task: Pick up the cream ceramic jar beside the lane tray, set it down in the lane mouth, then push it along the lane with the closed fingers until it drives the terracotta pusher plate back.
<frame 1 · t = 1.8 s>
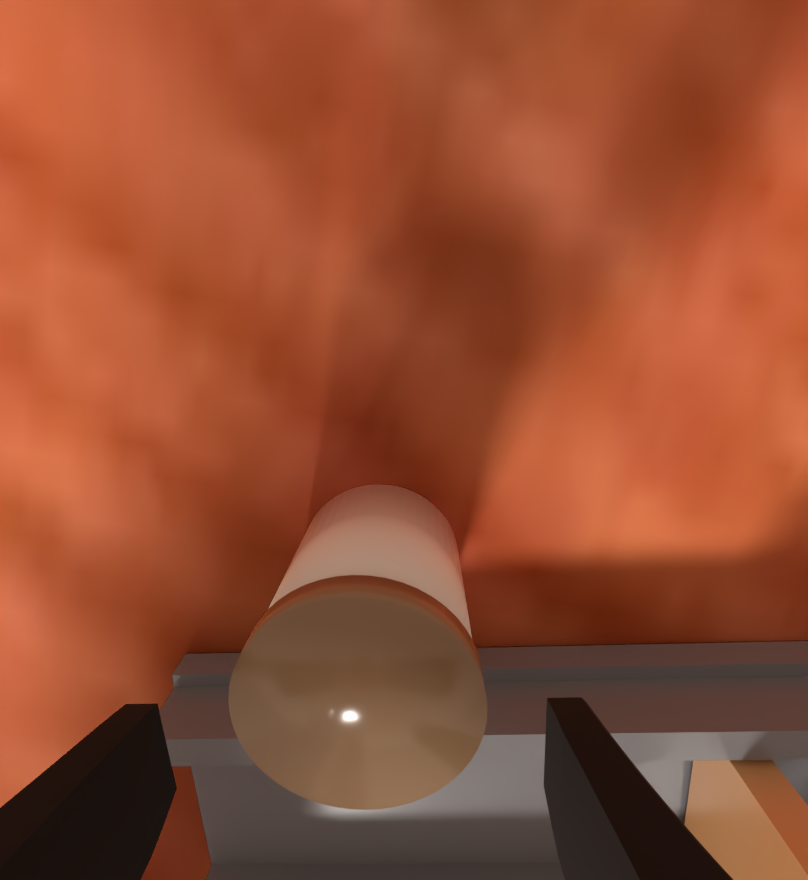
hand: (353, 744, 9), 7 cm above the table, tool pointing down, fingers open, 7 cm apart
jar: (380, 556, 16), on the table
lane tray: (531, 762, 18), on the table
pusher plate: (756, 877, 14), point 4 cm above the table, slide at 0.0 cm
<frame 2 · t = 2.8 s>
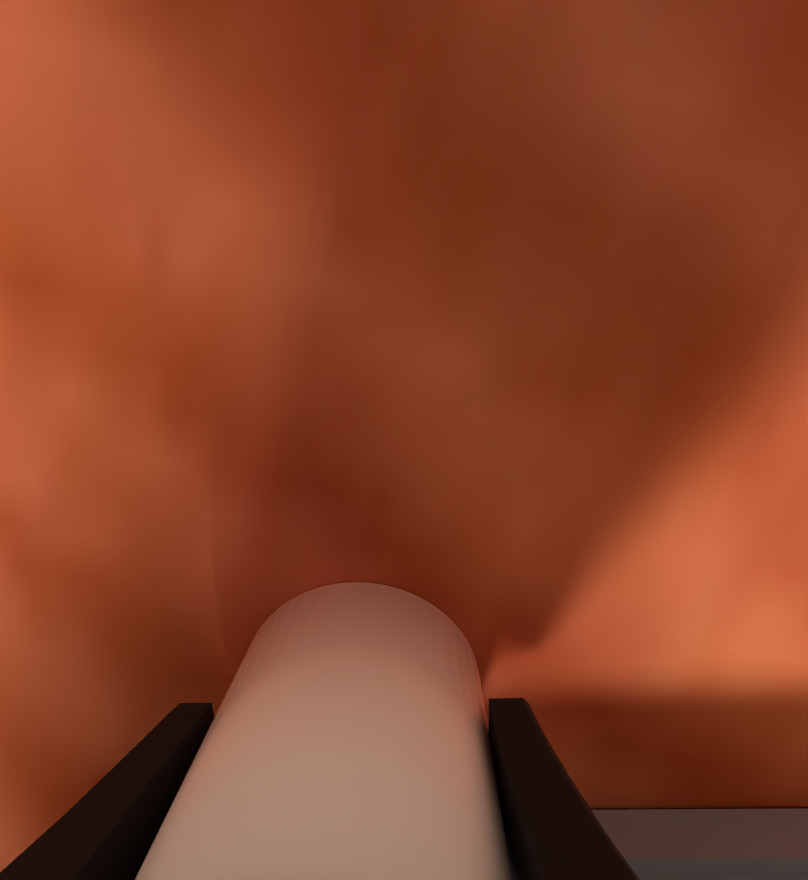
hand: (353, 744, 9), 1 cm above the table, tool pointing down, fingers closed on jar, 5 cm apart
jar: (361, 685, 10), on the table, touching gripper
when the fingers open (4 cm above the table, at t = 6.0 s): jar drops 1 cm, resting on lane tray.
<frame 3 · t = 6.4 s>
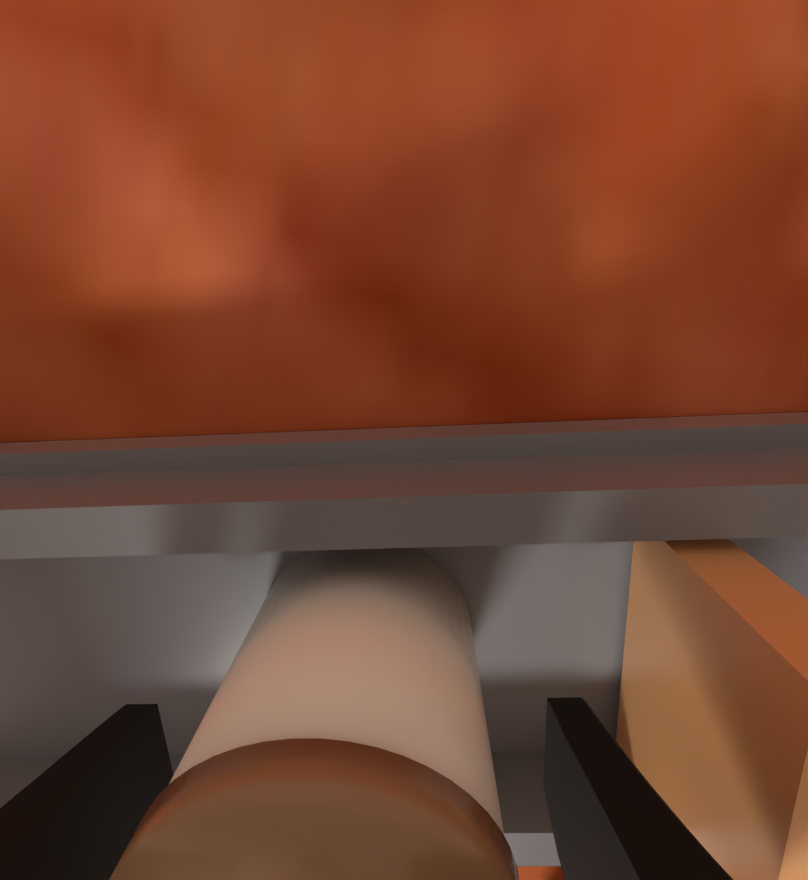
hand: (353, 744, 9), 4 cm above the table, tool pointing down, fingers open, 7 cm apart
jar: (366, 630, 12), point 1 cm above the table, touching lane tray
lane tray: (410, 613, 13), on the table
pusher plate: (713, 730, 9), point 4 cm above the table, slide at 0.0 cm
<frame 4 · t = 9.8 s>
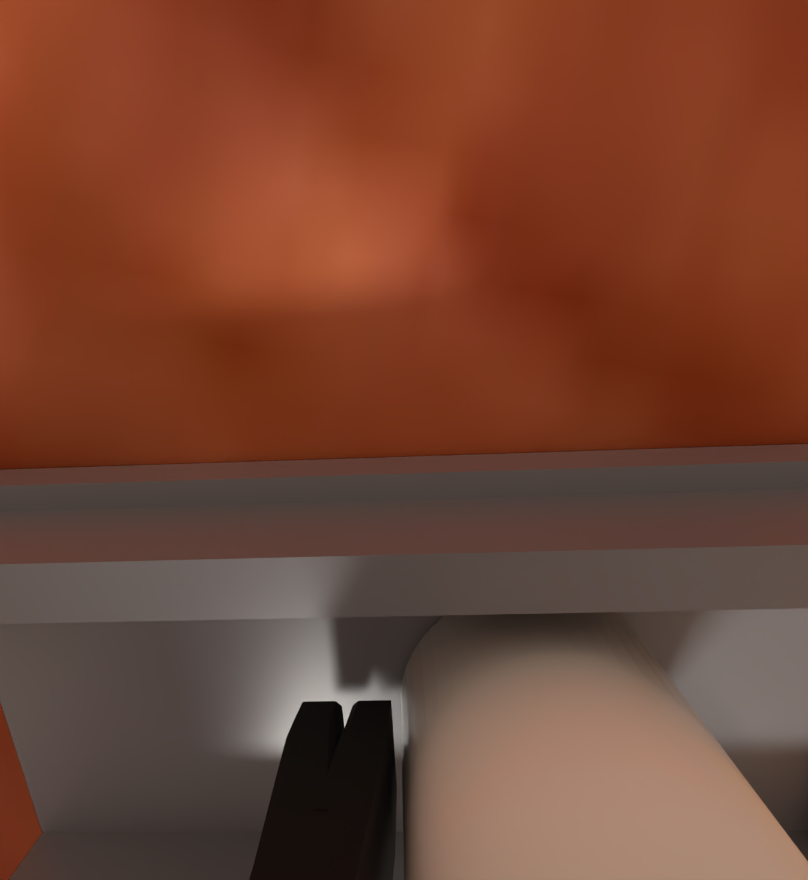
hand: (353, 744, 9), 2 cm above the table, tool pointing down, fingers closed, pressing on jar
jar: (525, 695, 10), point 1 cm above the table, touching gripper, lane tray
lane tray: (561, 666, 11), on the table
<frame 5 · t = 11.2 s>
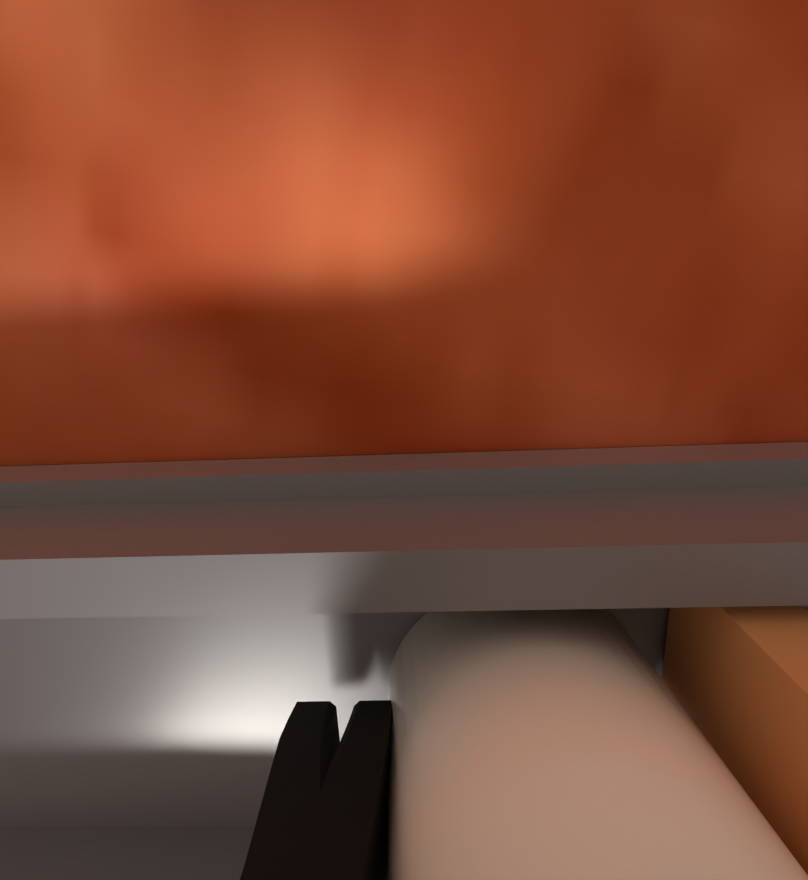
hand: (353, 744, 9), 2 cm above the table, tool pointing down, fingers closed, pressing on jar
jar: (512, 689, 10), point 1 cm above the table, touching gripper, lane tray, pusher plate
lane tray: (276, 667, 11), on the table
pusher plate: (779, 840, 7), point 4 cm above the table, slide at 3.0 cm, touching jar
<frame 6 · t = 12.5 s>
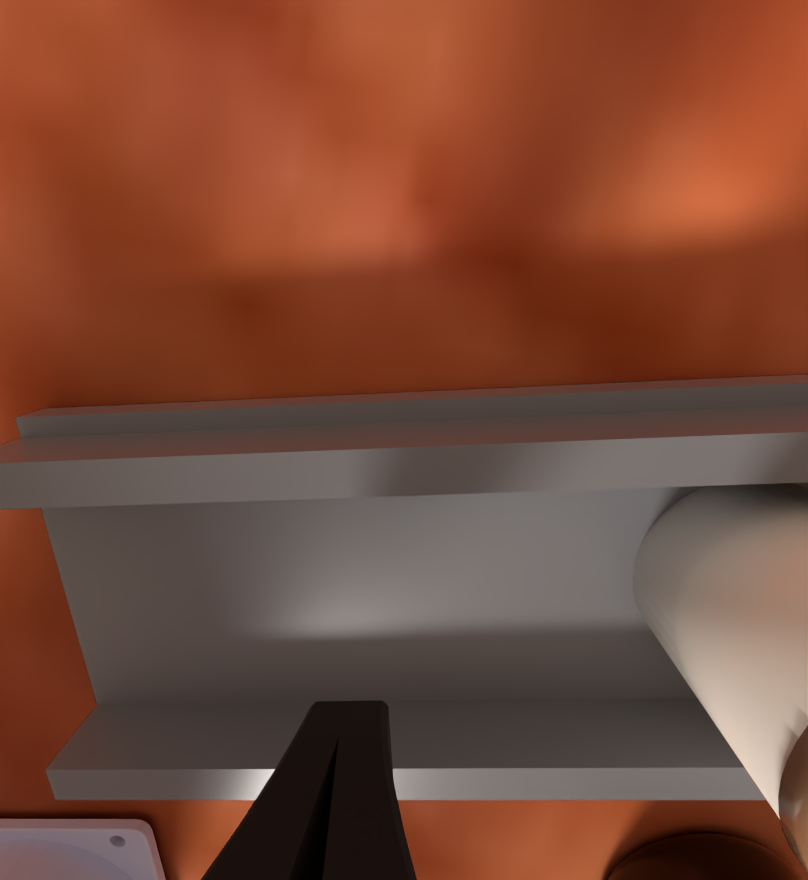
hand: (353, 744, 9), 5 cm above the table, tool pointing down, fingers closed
jar: (736, 571, 12), point 1 cm above the table, touching lane tray
lane tray: (513, 567, 13), on the table
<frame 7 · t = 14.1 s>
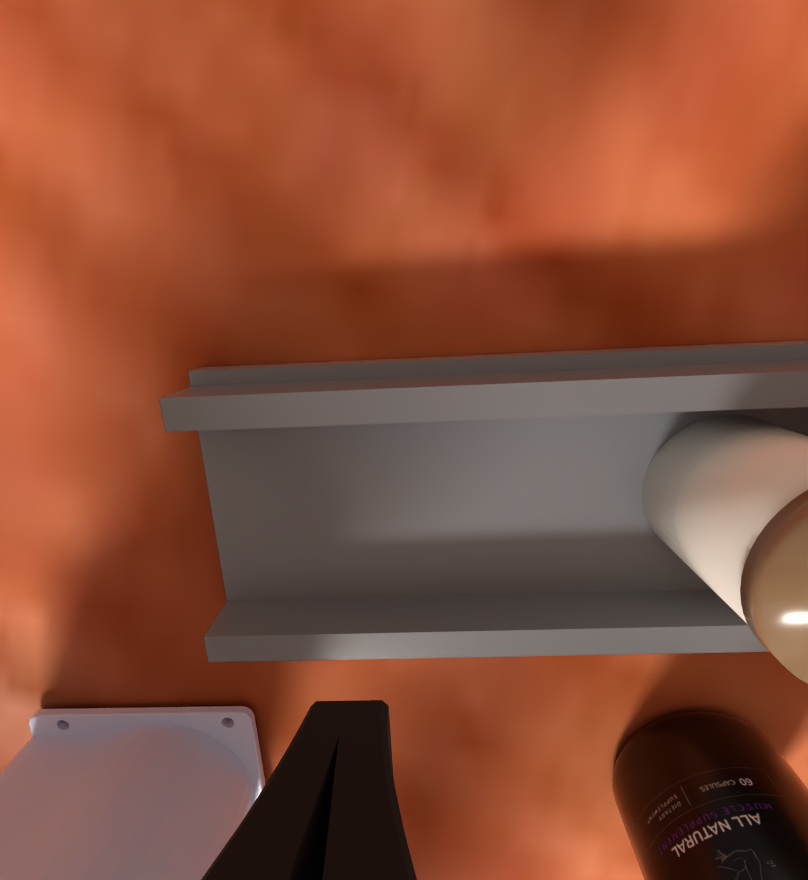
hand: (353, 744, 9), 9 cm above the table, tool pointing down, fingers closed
jar: (718, 487, 16), point 1 cm above the table, touching lane tray
lane tray: (551, 491, 18), on the table
supplement bottle: (684, 764, 21), on the table
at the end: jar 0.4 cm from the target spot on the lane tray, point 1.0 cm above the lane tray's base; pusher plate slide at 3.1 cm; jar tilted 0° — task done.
